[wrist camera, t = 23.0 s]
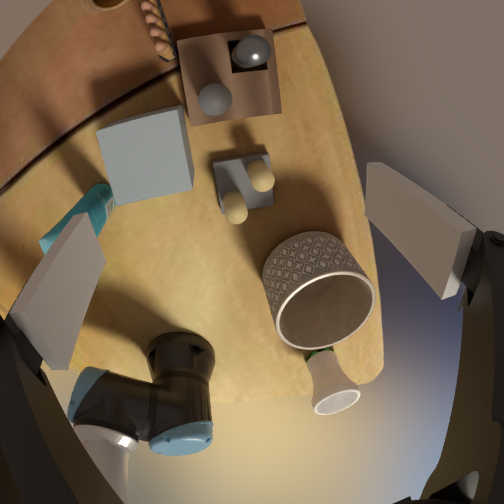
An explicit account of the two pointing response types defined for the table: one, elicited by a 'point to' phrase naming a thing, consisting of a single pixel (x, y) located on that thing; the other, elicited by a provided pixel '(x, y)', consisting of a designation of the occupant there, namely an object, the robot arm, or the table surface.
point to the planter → (316, 291)
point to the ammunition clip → (159, 29)
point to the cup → (330, 384)
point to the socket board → (226, 80)
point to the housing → (147, 155)
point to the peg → (250, 52)
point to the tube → (93, 202)
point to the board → (244, 184)
